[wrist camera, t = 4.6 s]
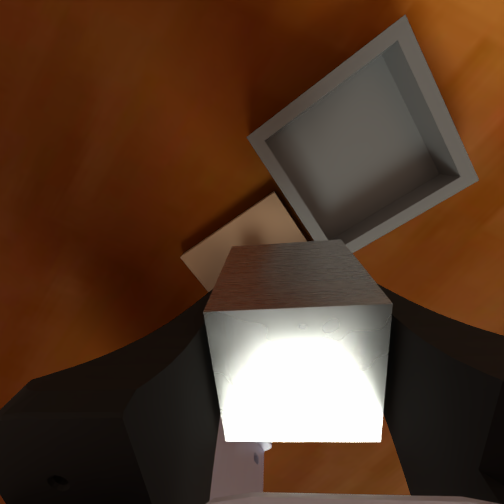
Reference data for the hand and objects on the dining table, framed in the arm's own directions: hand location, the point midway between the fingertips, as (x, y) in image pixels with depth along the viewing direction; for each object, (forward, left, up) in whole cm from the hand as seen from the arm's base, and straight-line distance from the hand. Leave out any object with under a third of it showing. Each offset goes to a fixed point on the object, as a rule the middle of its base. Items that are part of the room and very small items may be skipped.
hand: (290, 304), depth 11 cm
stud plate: (-1, +3, -9) cm, 9 cm away
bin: (+2, -6, -9) cm, 11 cm away
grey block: (0, 0, -1) cm, 1 cm away
